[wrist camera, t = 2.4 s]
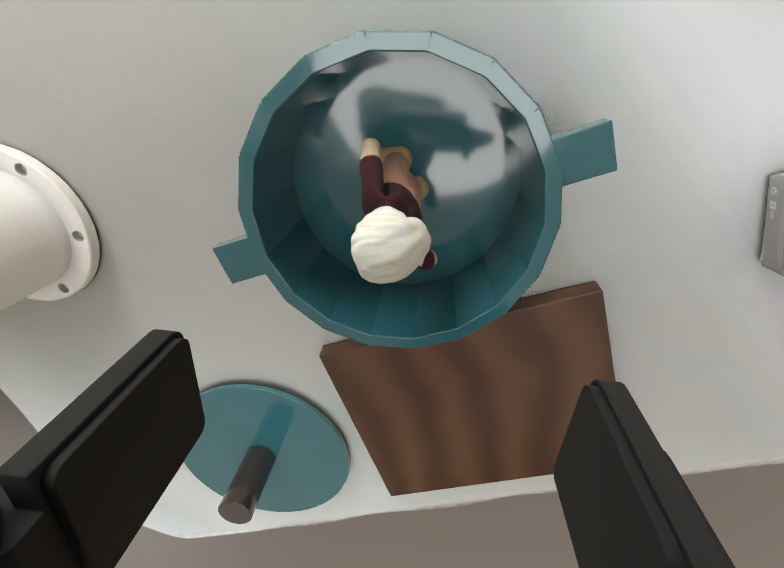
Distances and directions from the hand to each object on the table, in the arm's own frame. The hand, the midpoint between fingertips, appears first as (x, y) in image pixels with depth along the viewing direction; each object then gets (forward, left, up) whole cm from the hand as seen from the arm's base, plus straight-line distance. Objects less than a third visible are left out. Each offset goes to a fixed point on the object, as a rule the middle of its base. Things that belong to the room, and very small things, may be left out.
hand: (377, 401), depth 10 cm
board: (+7, -18, -21) cm, 28 cm away
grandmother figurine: (-1, 0, -20) cm, 20 cm away
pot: (-1, 0, -21) cm, 21 cm away
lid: (-13, -28, -20) cm, 37 cm away
